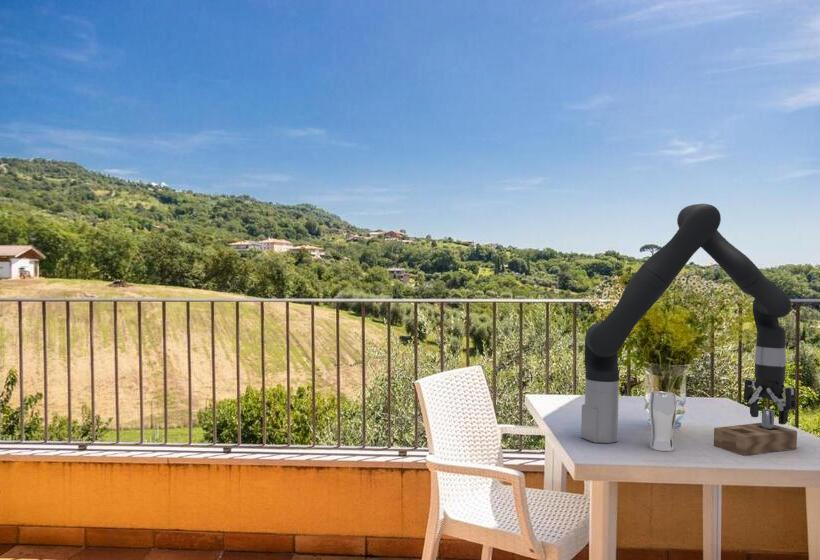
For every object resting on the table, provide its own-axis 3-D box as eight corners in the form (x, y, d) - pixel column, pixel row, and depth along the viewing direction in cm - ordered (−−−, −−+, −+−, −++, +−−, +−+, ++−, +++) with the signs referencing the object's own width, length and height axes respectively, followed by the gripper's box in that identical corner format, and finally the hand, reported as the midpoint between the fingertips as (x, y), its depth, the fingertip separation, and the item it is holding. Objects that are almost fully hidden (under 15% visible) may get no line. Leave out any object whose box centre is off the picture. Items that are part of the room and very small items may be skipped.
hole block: (745, 455, 166) (745, 437, 166) (713, 445, 176) (714, 427, 176) (796, 448, 174) (797, 430, 174) (763, 439, 183) (764, 422, 183)
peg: (768, 447, 175) (769, 411, 175) (758, 444, 178) (759, 409, 178) (775, 446, 176) (776, 410, 176) (765, 443, 179) (767, 408, 179)
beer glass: (652, 443, 177) (654, 390, 177) (678, 448, 173) (680, 393, 172) (644, 448, 172) (645, 393, 171) (670, 453, 167) (672, 397, 167)
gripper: (738, 359, 182) (736, 415, 182) (784, 367, 168) (782, 427, 169) (756, 358, 184) (755, 413, 185) (803, 366, 171) (801, 425, 172)
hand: (768, 420), depth 177 cm, fingers open, 8 cm apart
